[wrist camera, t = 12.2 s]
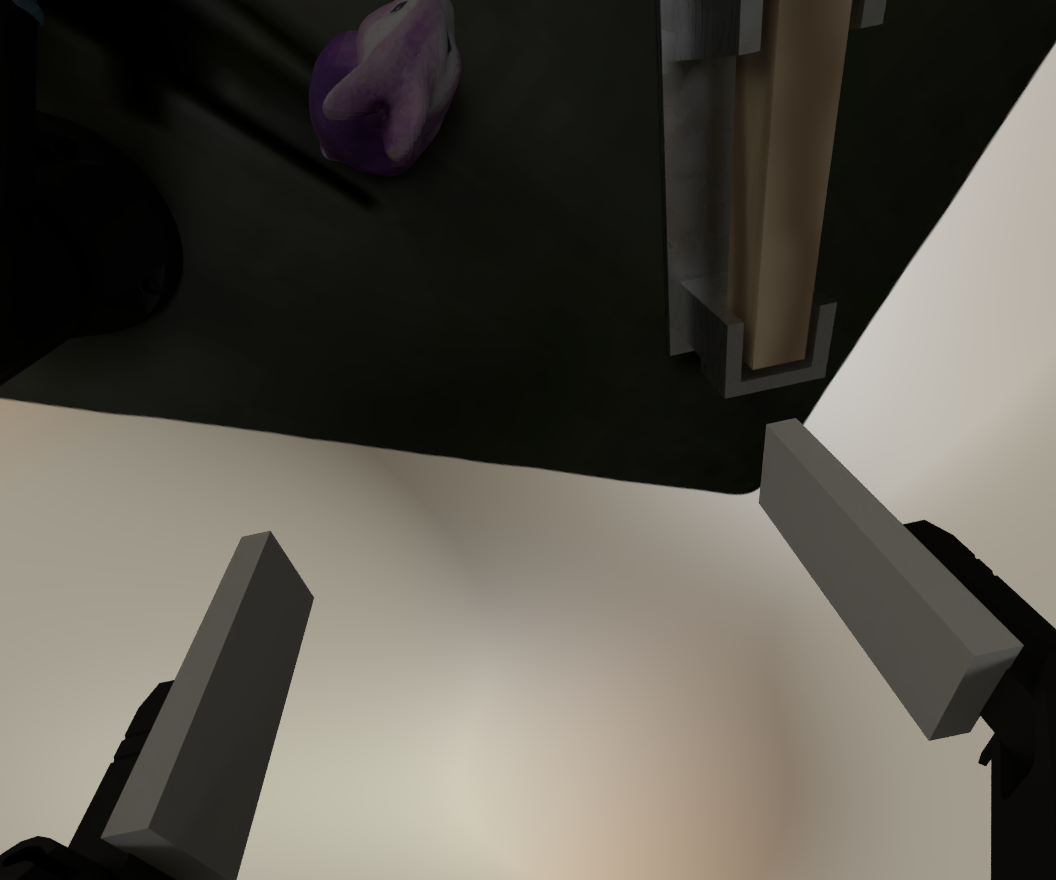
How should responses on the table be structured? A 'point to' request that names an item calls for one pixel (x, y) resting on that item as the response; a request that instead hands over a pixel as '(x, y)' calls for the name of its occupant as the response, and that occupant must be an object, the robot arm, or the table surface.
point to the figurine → (386, 86)
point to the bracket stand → (716, 189)
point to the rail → (783, 172)
